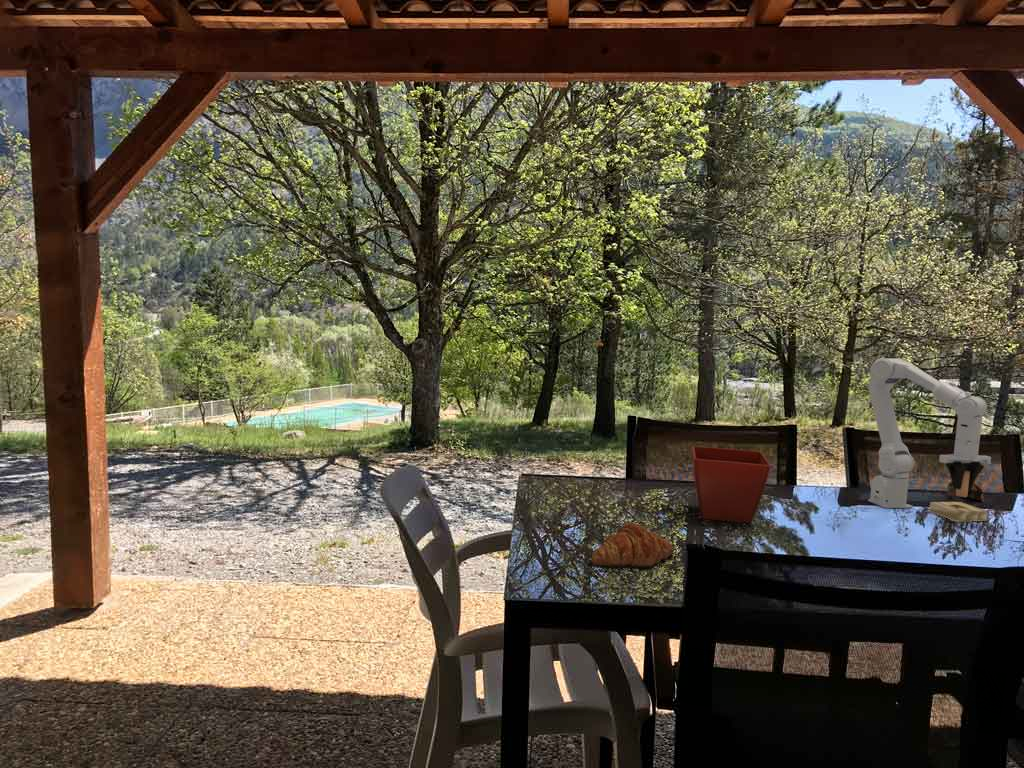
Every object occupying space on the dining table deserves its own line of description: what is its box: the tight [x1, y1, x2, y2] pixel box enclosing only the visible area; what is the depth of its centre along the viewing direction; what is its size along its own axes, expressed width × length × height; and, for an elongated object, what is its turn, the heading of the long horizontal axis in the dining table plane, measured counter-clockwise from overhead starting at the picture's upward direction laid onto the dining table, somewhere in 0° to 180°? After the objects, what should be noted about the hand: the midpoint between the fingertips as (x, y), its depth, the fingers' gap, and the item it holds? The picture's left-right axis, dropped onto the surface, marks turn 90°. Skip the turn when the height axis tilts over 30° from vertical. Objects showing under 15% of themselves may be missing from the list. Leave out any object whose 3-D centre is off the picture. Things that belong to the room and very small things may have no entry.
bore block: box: [928, 501, 989, 523], centre depth 214 cm, size 10×10×3 cm
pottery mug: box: [946, 480, 985, 503], centre depth 237 cm, size 12×10×8 cm
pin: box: [955, 470, 970, 498], centre depth 208 cm, size 3×3×7 cm
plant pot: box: [691, 445, 771, 524], centre depth 203 cm, size 19×19×17 cm
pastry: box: [590, 523, 675, 569], centre depth 164 cm, size 17×15×8 cm
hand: (961, 488), depth 208 cm, fingers closed on pin, 3 cm apart
